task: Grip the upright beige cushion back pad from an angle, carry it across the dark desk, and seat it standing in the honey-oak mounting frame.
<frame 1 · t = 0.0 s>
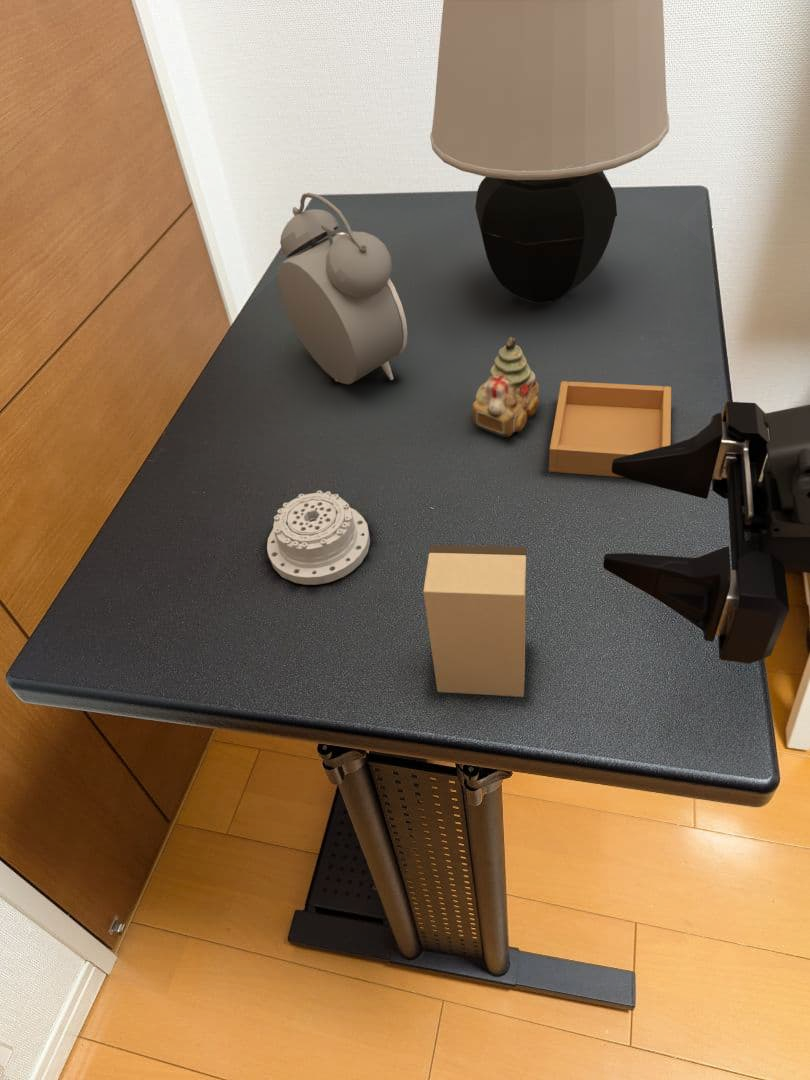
hand: (608, 510, 52), 16 cm above the table, tool horizontal, fingers open, 9 cm apart
mechanical component: (320, 549, 76), on the table
mount frame: (609, 439, 82), on the table
table lamp: (542, 296, 104), on the table
ornament: (505, 420, 86), on the table
back pad: (481, 671, 64), on the table
alarm clock: (353, 375, 96), on the table
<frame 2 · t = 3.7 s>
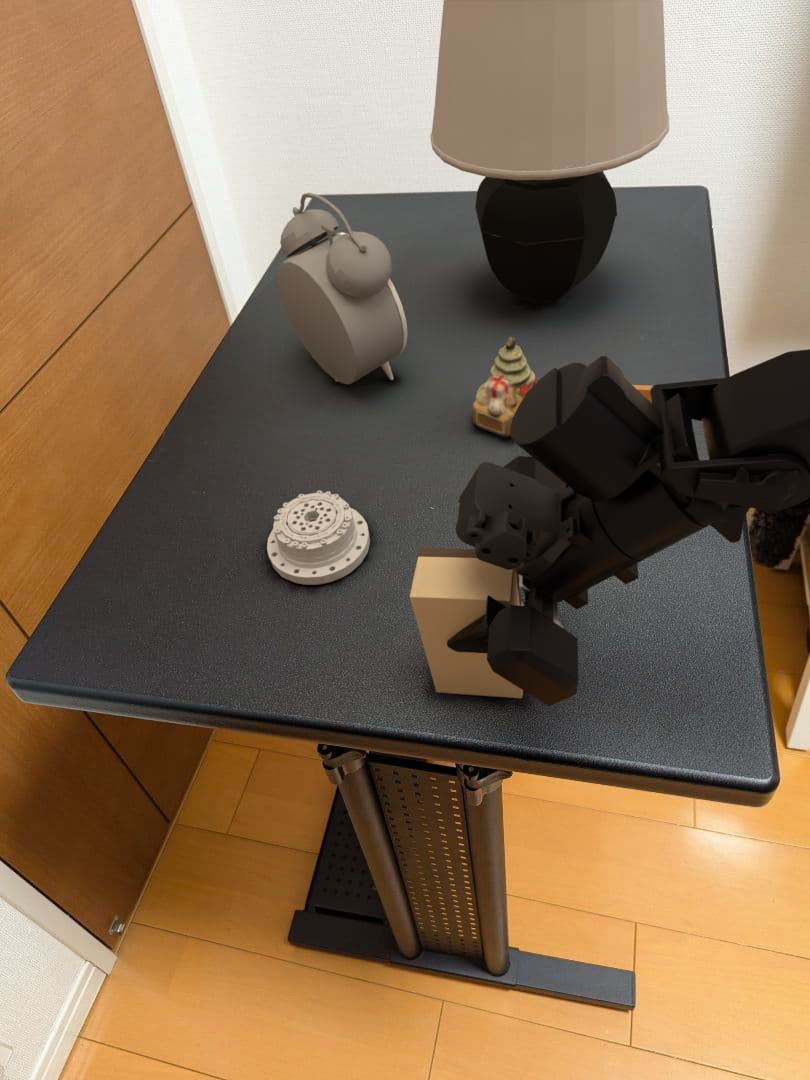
hand: (454, 616, 59), 7 cm above the table, tool tilted 45°, fingers closed on back pad, 5 cm apart
back pad: (481, 671, 63), on the table, touching gripper
everything else where it was.
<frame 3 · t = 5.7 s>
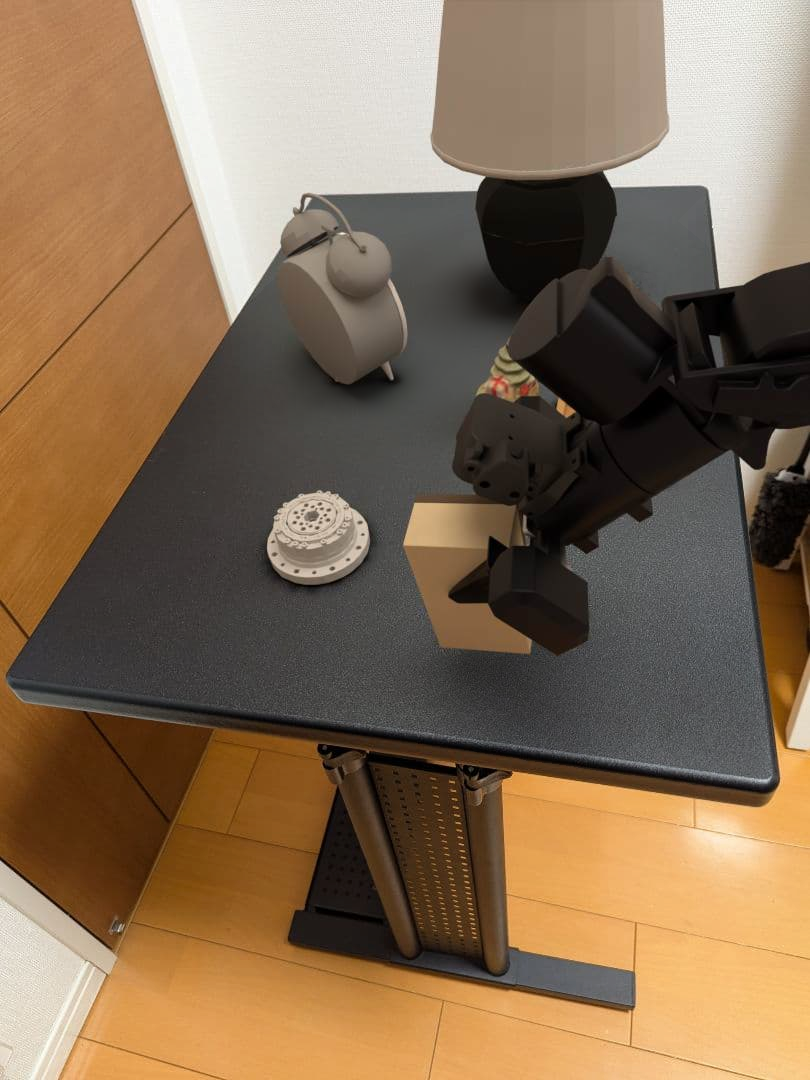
hand: (456, 570, 55), 13 cm above the table, tool tilted 45°, fingers closed on back pad, 5 cm apart
back pad: (488, 625, 60), point 6 cm above the table, tilted 8°, touching gripper
everything else where it was.
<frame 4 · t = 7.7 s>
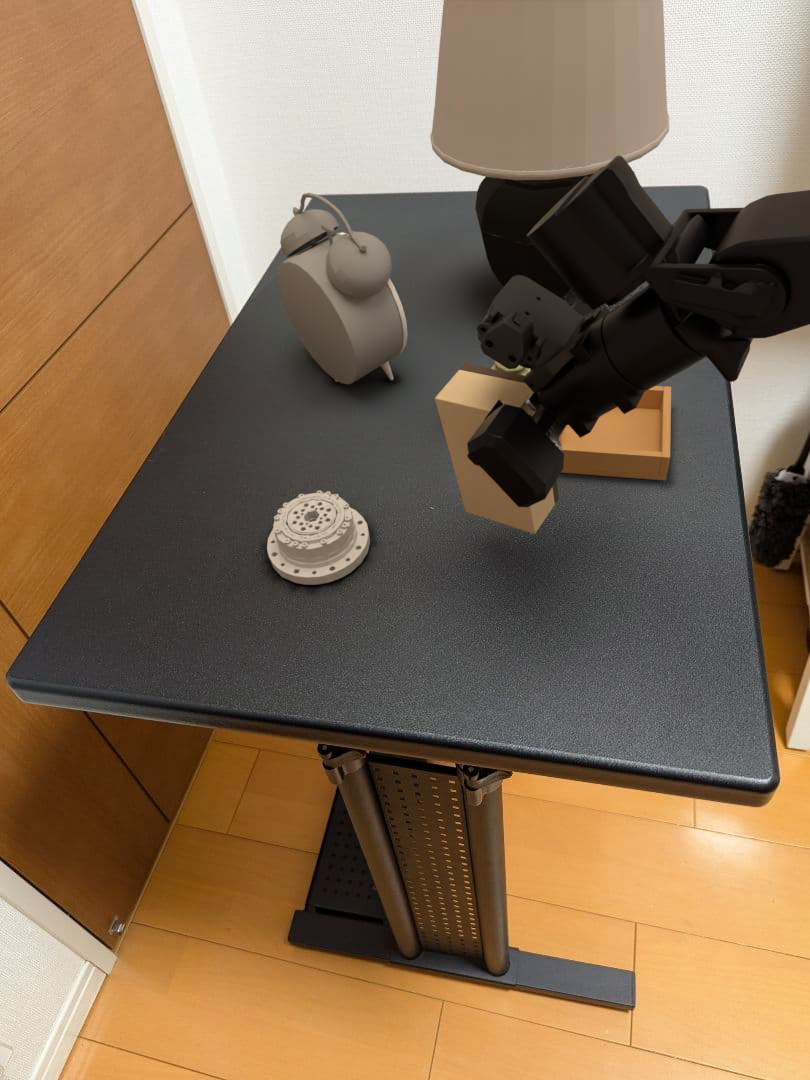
hand: (485, 440, 63), 14 cm above the table, tool tilted 45°, fingers closed on back pad, 5 cm apart
back pad: (511, 505, 68), point 6 cm above the table, tilted 8°, touching gripper
everything else where it was.
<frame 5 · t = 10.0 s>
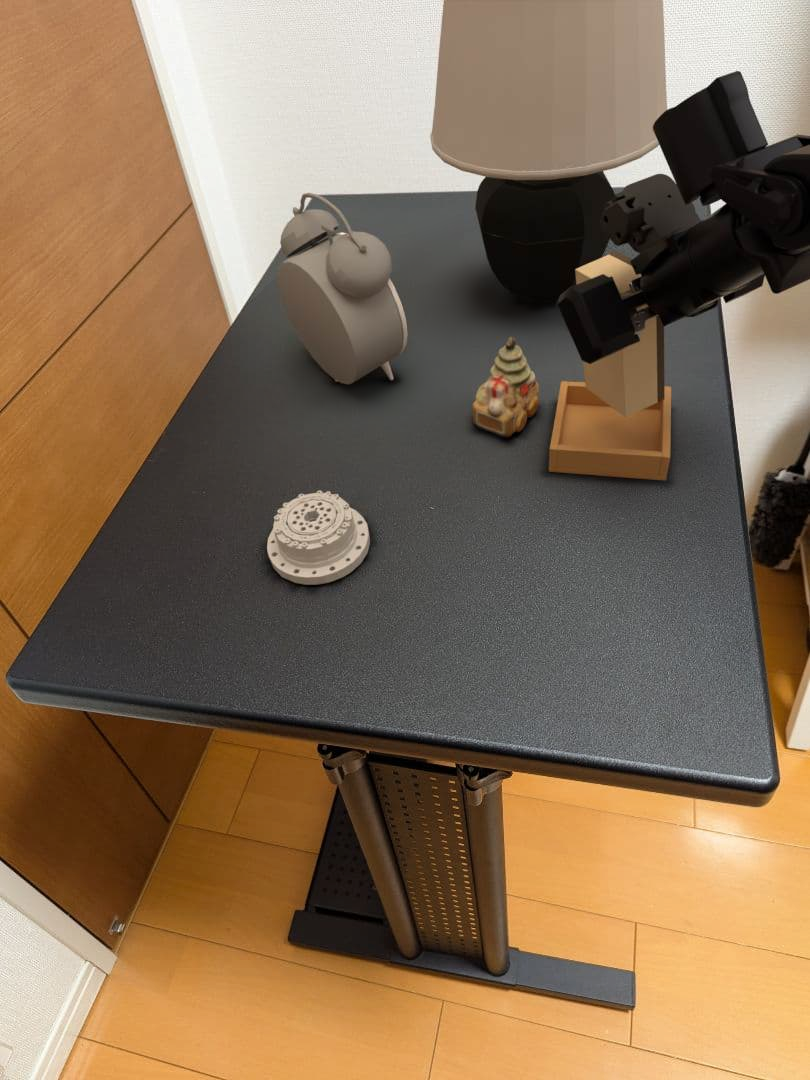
hand: (612, 323, 73), 13 cm above the table, tool tilted 45°, fingers closed on back pad, 5 cm apart
back pad: (623, 393, 77), point 6 cm above the table, tilted 8°, touching gripper
everything else where it was.
when the fingers open (8 cm above the table, at t = 11.8 s): back pad stays where it is, resting on mount frame.
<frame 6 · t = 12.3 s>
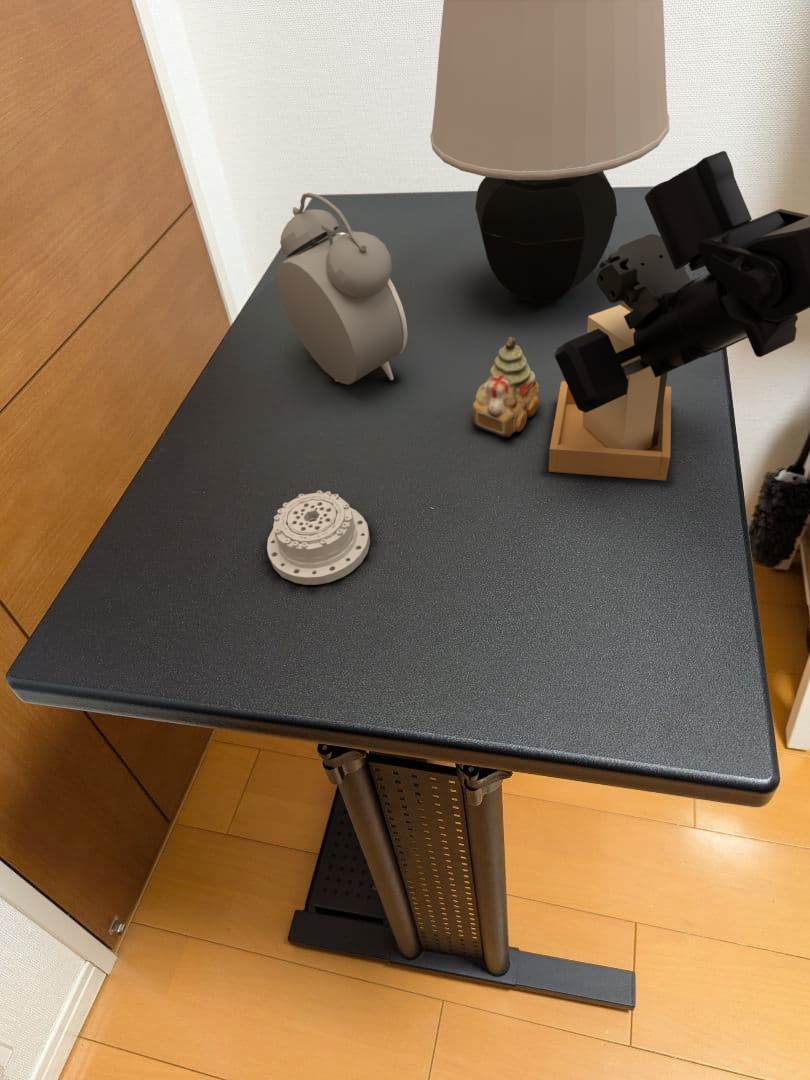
hand: (607, 367, 77), 8 cm above the table, tool tilted 45°, fingers open, 9 cm apart
back pad: (619, 435, 81), point 1 cm above the table, touching mount frame
everything else where it was.
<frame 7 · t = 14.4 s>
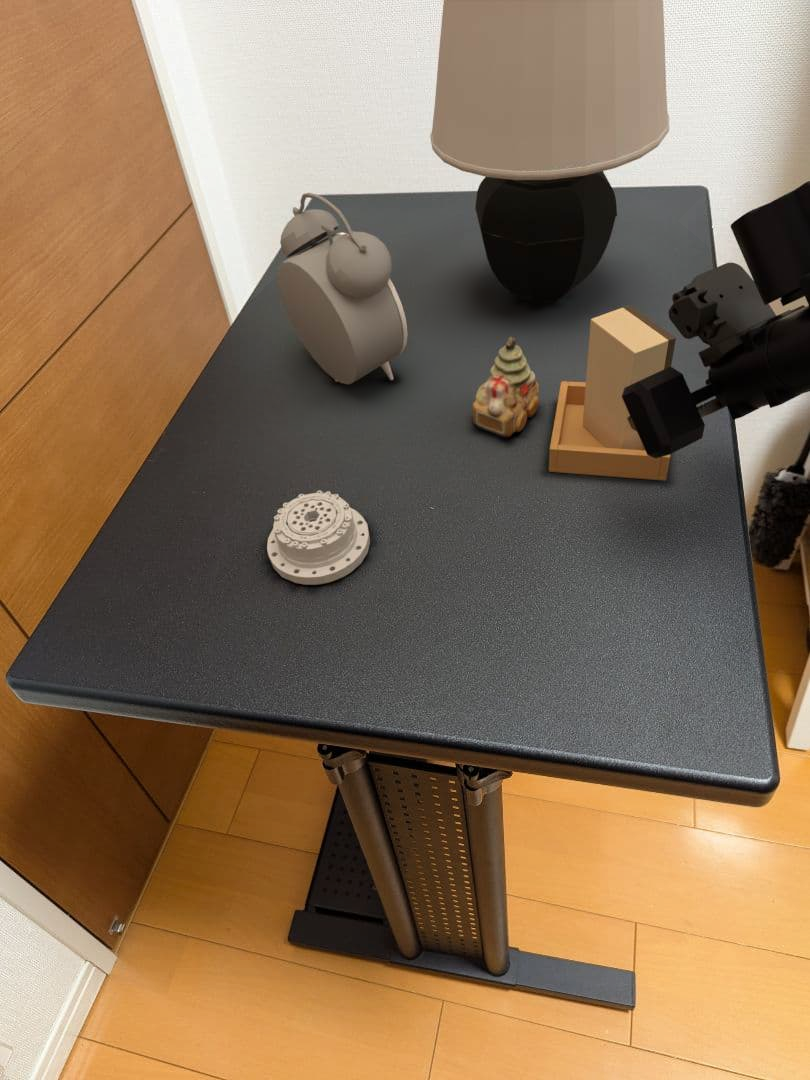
hand: (670, 404, 71), 9 cm above the table, tool tilted 45°, fingers open, 9 cm apart
nothing on the table moved.
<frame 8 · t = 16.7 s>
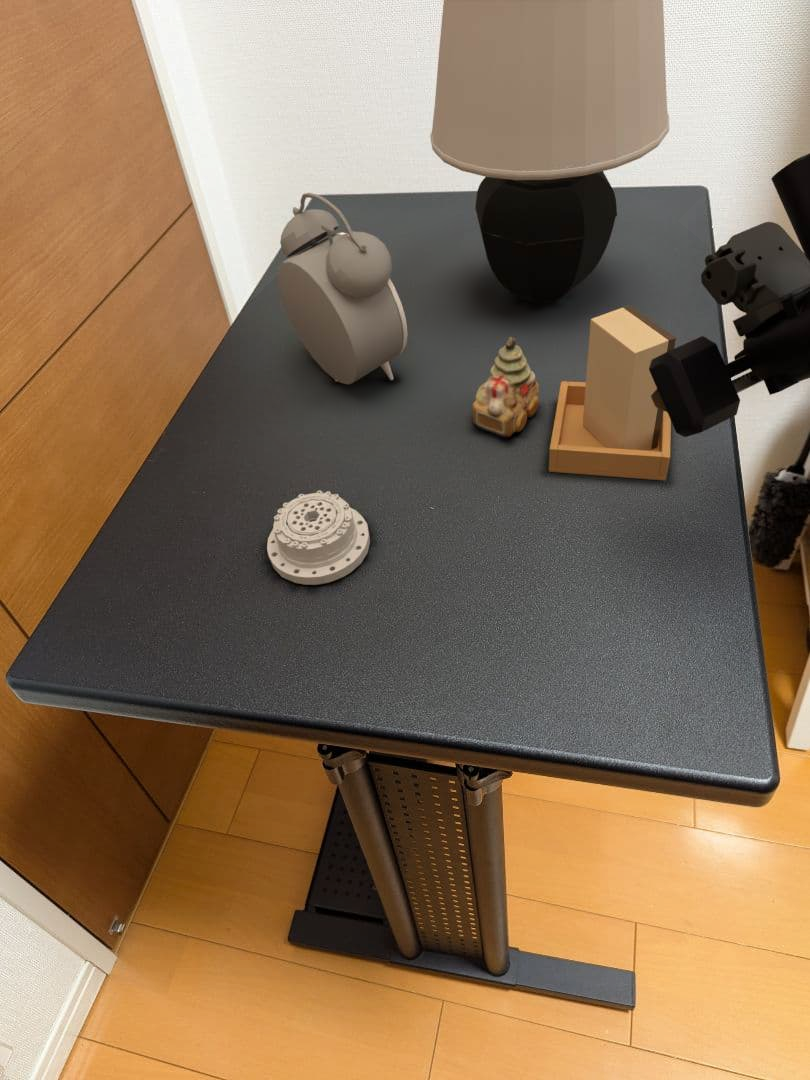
hand: (696, 380, 65), 14 cm above the table, tool tilted 45°, fingers open, 9 cm apart
nothing on the table moved.
at the end: back pad inside the target area in the mount frame (0.9 cm from its centre), point 0.6 cm above the mount frame's base; back pad tilted 0°; the gripper is holding nothing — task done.
